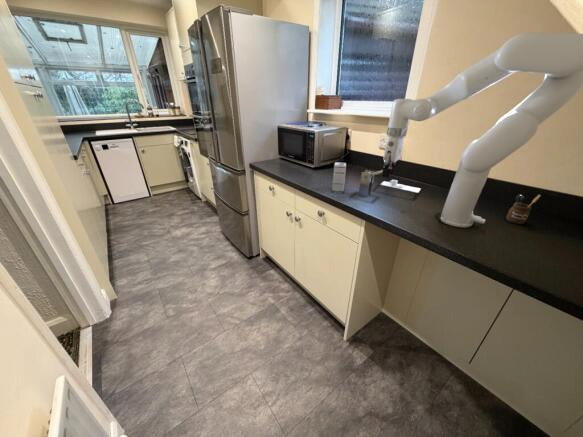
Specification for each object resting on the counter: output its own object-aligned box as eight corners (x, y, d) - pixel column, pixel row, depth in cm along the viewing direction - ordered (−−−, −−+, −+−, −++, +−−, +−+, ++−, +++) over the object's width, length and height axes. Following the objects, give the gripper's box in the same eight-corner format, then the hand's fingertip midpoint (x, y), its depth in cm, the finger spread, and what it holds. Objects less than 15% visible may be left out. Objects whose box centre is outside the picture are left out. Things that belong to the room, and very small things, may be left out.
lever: (393, 170, 104) (391, 165, 104) (389, 172, 100) (388, 167, 100) (367, 177, 112) (366, 172, 112) (363, 180, 109) (362, 175, 109)
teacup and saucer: (404, 187, 127) (405, 180, 125) (400, 191, 121) (402, 184, 119) (387, 184, 132) (389, 177, 130) (383, 188, 126) (385, 181, 124)
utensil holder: (503, 216, 98) (516, 189, 92) (522, 219, 96) (537, 192, 90) (507, 222, 93) (521, 194, 88) (527, 225, 91) (543, 197, 85)
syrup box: (343, 193, 118) (346, 165, 112) (331, 192, 119) (334, 164, 113) (343, 189, 123) (346, 162, 117) (332, 188, 124) (334, 161, 118)
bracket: (378, 197, 115) (383, 172, 109) (371, 203, 109) (376, 176, 103) (357, 192, 121) (361, 167, 115) (349, 197, 114) (353, 172, 108)
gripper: (400, 136, 87) (390, 182, 96) (411, 131, 99) (401, 172, 108) (380, 134, 91) (372, 178, 100) (393, 129, 103) (385, 169, 112)
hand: (387, 175), depth 104 cm, fingers closed on lever, 5 cm apart
